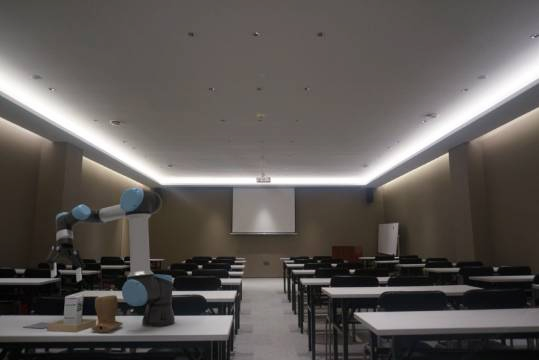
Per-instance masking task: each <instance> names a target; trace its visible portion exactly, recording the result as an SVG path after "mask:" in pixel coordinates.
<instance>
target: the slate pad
mask: <svg viewBox="0 0 539 360" xmlns="http://www.w3.org/2000/svg"><path fill="white" fill-rule="evenodd" d="M48 323H49V322H44V321H43V322H42V321H40V322H37V323H33V324H29V325H25V326H23V327H22V329H36V330H37V329H39V330H44V329H47V325H48Z"/></svg>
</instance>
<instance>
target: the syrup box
mask: <svg viewBox="0 0 539 360" xmlns="http://www.w3.org/2000/svg"><path fill="white" fill-rule="evenodd" d="M83 305H84V295H83V294H72V295H68V296H65V297H64V310H63V319H64V321H63V324H73V325H78V324H81V323H82V319H83V307H84V306H83Z"/></svg>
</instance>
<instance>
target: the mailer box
mask: <svg viewBox="0 0 539 360" xmlns="http://www.w3.org/2000/svg"><path fill="white" fill-rule="evenodd" d="M63 321H64V318H63V319H61V320H57V321H53V322H47V323H48V325H47V328H46V331H47V332H65V333H78V332H81V331H85V330H88V329H92V328H93V327H94V326H96V325H97V324H98V318H97V319H96V318H82V323H81V324H78V325H73V324H63Z"/></svg>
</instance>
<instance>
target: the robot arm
mask: <svg viewBox="0 0 539 360" xmlns="http://www.w3.org/2000/svg"><path fill="white" fill-rule="evenodd" d="M119 199H120V200H119V204H115V205H112V206H108V207H103V208H99V209H92V208H90V207H88V206H87V205H85V204H79V205H77V206H76V207H74V208H72V209H71V210H70V211H68V212H67V211H66V212H65V211H63V212H60V213H58V214H57V215H56V217H55V236H56V244H54V245H53V246H52V247H51V248H50V252H49V253H48V255H47V257H46V259H45V260H44V263H46V264H47V266H49V271H50V278H51V279H54V278H55V277H56V276H57V275H58V274H57V273H58V272H57V262H56V261H57V260H58V259H59V258H65V259H68V260H69V261H70V262H71V264H73V266H74V268H76V269H75V275H76V276H75V277H76V282H77V283H79V282H80V281H82V280H83V277H82V275H83V269H85V268H86V264H85V262H84V260H83V258H82V256H81V255H80V251H79V250H74V246H75V245H74V232H73V231H74V229H73V228H74V227H76V226H77V225H79V224H92V225H93V224H94V225H95V224H96V225H104V224H107V223H108V222H111V221H115V220H120V219H127V220H128V223H129V224H128V225H129V226H128V227H129V232H128V234H129V259H130V260H129V261H130V264H129V265H130V266H129V267H130V272H129V273H128V275H127V276H126V277H127V278H126V281H125V282H124V284H123V286H122V287H121V295H122V297H123V300H124V301H125V303H127V304H128V305H129V306H132V307H139V306H143V305H146V308H145V312H144V314H143V317H142V322H141V324H142V325H141V326H145V327H164V326H171V325H173V324H175V321H176V318H175V314H174V310H173V308H172V302H173V301H172V299H173V284H174V282H173V276H172V275H169V274H159V273H158V274H155V273H154V272H153V271H152V270H151V262H150V261H151V259H150V257H151V256H150V236H149V235H150V234H149V232H150V231H149V219H150V218H151V216H152V215H153V214H156V213H157V212H159V211H160V209H161V208H162V206H163V200H162V197H161V196H160V194H159V193H157V192H156V191H155V190H154V191H153V190H148V189H144V188H140V187H129V188H127V189H126V190H124V192H123V193H122V194H121V196H120V198H119ZM56 252H58V253H57V254H56V255H55V253H56ZM54 255H55V256H54Z"/></svg>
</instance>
